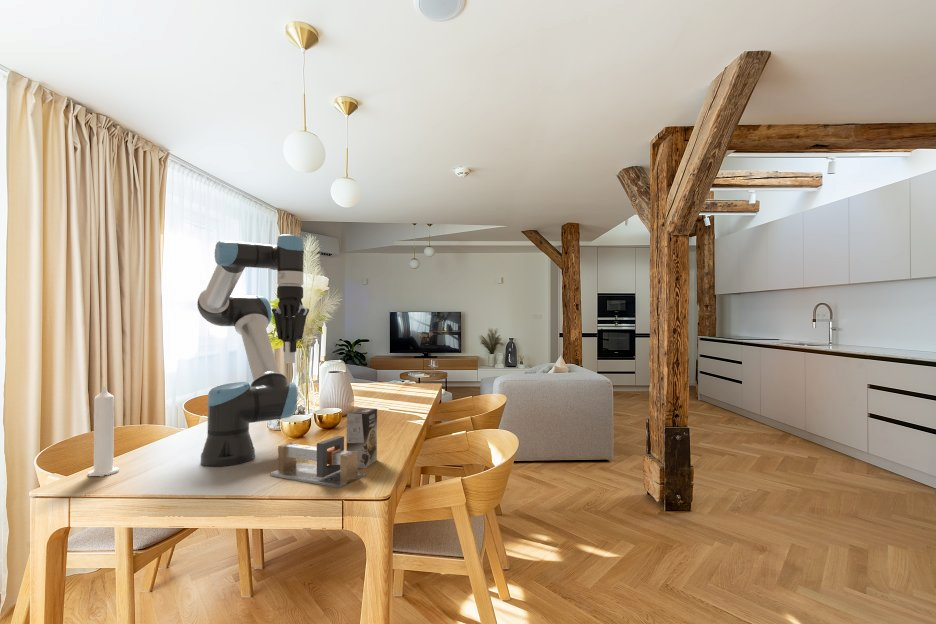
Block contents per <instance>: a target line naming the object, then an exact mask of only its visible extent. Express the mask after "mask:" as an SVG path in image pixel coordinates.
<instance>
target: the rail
mask: <svg viewBox="0 0 936 624" xmlns="http://www.w3.org/2000/svg"><path fill="white" fill-rule="evenodd" d="M277 447H278V448H277V449H278V450H277V451H278V452H277V457H278V458H277V470H273V471H272V472H270V473H269V476H270V477H274V478H281V479H287V480H292V481H297V482H302V483H303V482H304V483H310V484H314V485H321V486H327V487H332V488H337V489H340V488H342V487H344V486H346V485H348V484H350V483H352V482H354V481H357V480H358V479H360V478H363V477H364V476H365V472H362V471H359V468H358V451H346V450H344V451H343V450H340V449H337V448H334V447H332V448H329V449H327V465H333V464H337V465H340V470H339V471H337V472H334V473H332V474H330V475H328V476H325V477H323V478H321V477H317V464H313V463H312V464H311V463H306V462H300V461H298V462H297V459H298V460H306V461H311V462H317V446H315V445H314V446H312V445H305V444H298V443H297V442H293V441H291V442H288V443H284V444H281V445H279V446H277Z"/></svg>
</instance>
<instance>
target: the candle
mask: <svg viewBox="0 0 936 624" xmlns="http://www.w3.org/2000/svg"><path fill="white" fill-rule="evenodd" d="M93 400H94V403H93V406H94V407H93V408H94V409H93V469H91V470H89V471H88V472H87V476H88V477H90V476H100V477H105V476H104V475H107V476H111V475H114V474H117V473H118V472H119V470H120V468H119V467H118V466H114V449H115V448H114V443H115V442H114V441H115V440H114V438H115V435H114V434H115V433H114V431H115V430H114V427H115V424H114V423H115V421H114V420H115V395H113V394H111V393H110V392H108V389H107V386H106V384H103V386H102V388H101V391H100V392H99V393H98V394H97V395H95V397H94V398H93ZM110 474H111V475H110Z"/></svg>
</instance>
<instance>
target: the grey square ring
mask: <svg viewBox="0 0 936 624" xmlns="http://www.w3.org/2000/svg"><path fill="white" fill-rule="evenodd" d="M316 447H317V461H316V465H317V477H321V478H323V477H325V476H328V475H330V474H332V473H334V472H337V471H339V470H340V465H337V464H333V465H329V464H327V449H329V448H337V449H340V450H343V451H345V435H344V436H343V435H337V436H334V437H331V438H328V439H326V440H322V441H319V442H317V443H316Z"/></svg>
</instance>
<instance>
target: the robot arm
mask: <svg viewBox="0 0 936 624" xmlns="http://www.w3.org/2000/svg"><path fill="white" fill-rule="evenodd" d="M304 251H305V246H304V239H303V237H302V236H300V235H296V234H280V235H278V236H277V243H276V244H265V243H253V242H246V241H245V242H244V241H235V240H218V241H217V242H216V244H215V248H214V261H215V263H216V267H215V269H214V271H213V273H212V275H211V278H210V280H209V282H208V284H207V286H206V288H205V289H204V290H203V291H201V293H200V294H199V296H198V299H197V304H196V305H197V310H198V312H199V314H200V315H201V317H202V318H203V319H205V321H207V322H208V323H210V324H212V325H214V326H219V327H234V329H235V332H236V333H237V334H239V335H241V338H242V342H243V346H244V350H245V353H246V357H247V361H248V365H249V368H250V373H251V376H252V380H253V381H252V382H251V383H249V382H248V381H238V382H230V383H225V384H221V385H217V386H214V387H212V388H211V389H210V390H209V391H208V394H207V403H206V406H207V437H206V440H205V443H204V446H203V449H202V452H201V454H200V463H201V465H204V466H207V467H208V466H211V467H223V466H227V467H228V466H234V465H238V464H242V463H243V464H244V463H246V462H250V461H252V460H253V459H254V458H255V456H256V452H255V451H256V450H255V447H254V444H253V440H252V437H251V435H250V424H251V423H252V424H253V423H258V422H259V423H260V422H267V421H276V420H280V421H281V420H282V419H288V418H291V417H292V416H293V415H294V414H295V412H296V408H297V404H298V387H297V385H296V384H295V383H294V382H291V381H289V382H288V380H287V377H286V375H284V374H283V373H280V369H279V366H278V362H277V360H276V357H275V353H274V349H273V346H272V344H271V340H270V337H269V334H268V330H267V328H268V327H269V324H270V323H271V322H272V321H271V320H272V315H273V319H274V324H275V329H276V334H277V339H278V340H281V341H282V342H283V352H284V364H295V363H296V353H297V349H298V348H297V342H298V341H300V340H302V339H303V335H304V331H305V326H306V320H307V316H308V314H309V312H310V309H309V308H306V307H305V306H304V304H303V300H302V299H304V287H303V285H304V256H305V255H304V254H305V253H304ZM246 268H255V269H256V268H258V269H270V270H273V271H276V272H277V275H276V277H277V278H276V279H277V282H276V283H277V285H278V286H277V288H276V289H277V290H276V298H277V299H278V304H277V306H276V307H275V308H272V307H271V304H270V302H269V300H268V299H267V298H266V297H265V296H263V295H255V294H251V295H248V294H247V295H245V294H243V295H239V294H232V293H233V291H234V289H235V287H236V285H237V283H238V282H239V279H240V278H241V276H242V274H243V272H244V270H245V269H246Z"/></svg>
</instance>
